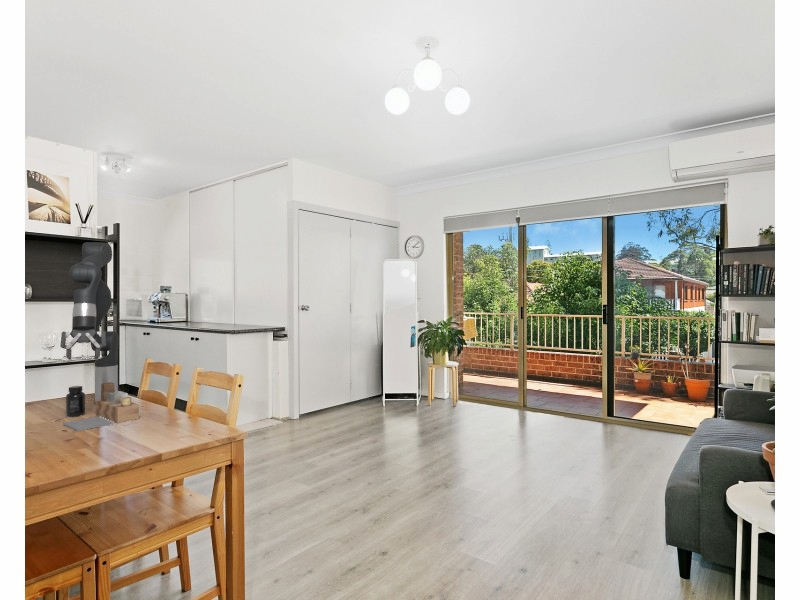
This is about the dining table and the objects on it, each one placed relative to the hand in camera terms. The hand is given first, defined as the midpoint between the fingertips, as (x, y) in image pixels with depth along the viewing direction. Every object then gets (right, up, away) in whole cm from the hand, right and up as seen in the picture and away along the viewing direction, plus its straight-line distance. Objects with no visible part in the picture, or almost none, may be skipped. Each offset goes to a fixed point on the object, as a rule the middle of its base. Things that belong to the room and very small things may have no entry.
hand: (83, 358), depth 179 cm
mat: (-3, -27, +7) cm, 28 cm away
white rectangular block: (+2, -20, +18) cm, 28 cm away
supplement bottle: (-17, -27, +21) cm, 38 cm away
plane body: (+2, -26, +19) cm, 32 cm away
